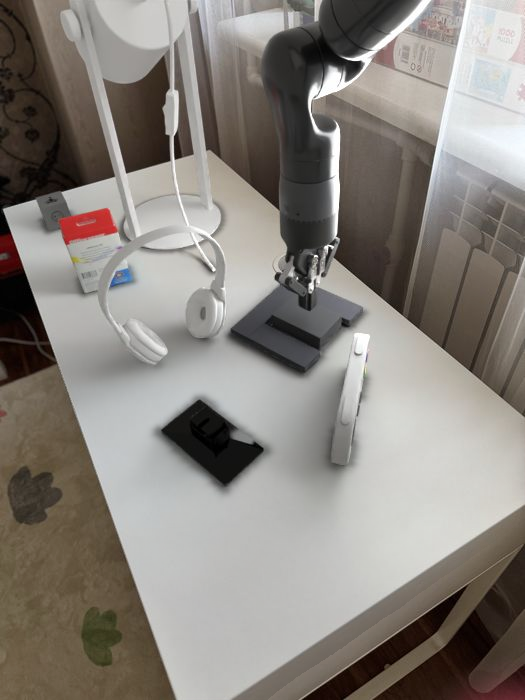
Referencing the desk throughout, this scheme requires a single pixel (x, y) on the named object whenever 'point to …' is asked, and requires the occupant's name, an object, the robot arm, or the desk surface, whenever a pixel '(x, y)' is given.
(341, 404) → the game controller
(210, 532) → the desk surface
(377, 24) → the robot arm
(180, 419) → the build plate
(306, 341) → the small pad
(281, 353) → the base pad
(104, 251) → the ink box
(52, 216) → the dice cube
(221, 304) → the headphones
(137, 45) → the desk lamp
